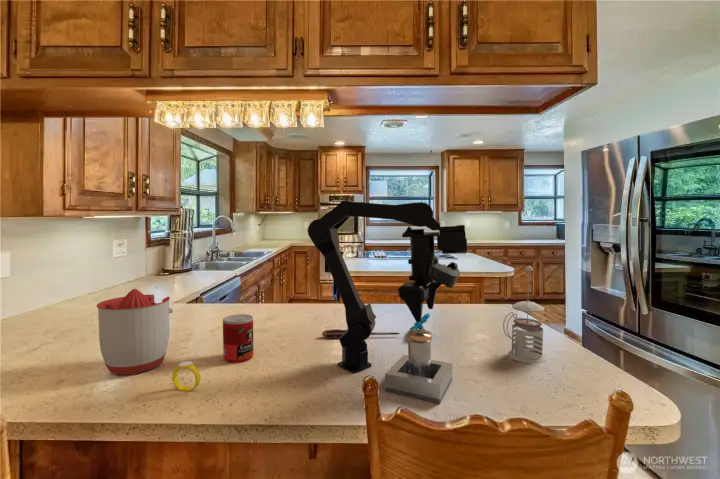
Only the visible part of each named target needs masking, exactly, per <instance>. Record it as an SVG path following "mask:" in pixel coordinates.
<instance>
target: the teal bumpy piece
mask: <svg viewBox="0 0 720 479" xmlns="http://www.w3.org/2000/svg"><path fill="white" fill-rule="evenodd" d="M430 317H431V314H430V313H429V312H427V313H425V314H424V315H422V318H421V322H416V321H415V323H413V326H411V327H410V328H409V330H408V331H410V330H426V329H425V327H424V325H423V324H424V323H427V321H428V319H429V318H430ZM406 336H407V333H406Z"/></svg>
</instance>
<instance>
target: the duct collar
mask: <svg viewBox="0 0 720 479" xmlns="http://www.w3.org/2000/svg"><path fill="white" fill-rule="evenodd" d="M384 376H385V378H384V385H385V386H384V389H385V390H384V392H385V393H386V392H387V393H391V394H395V395H399V396H404V397H407V398H411V399H416V400H421V401H425V402H428V403H429V402H430V403H434V404H437V405H440V404H441V402H442V401H443V399H444V397H445V395H446V393H447V391H448V390H449V387H450V385H451V383H452V381H453V362H452V363H451V362H446V361H440V360H434V359H431V379H430V378H425V377H420V376H416V375H411V374H408V354H402V356H401V357H400V358H399V359H398V360H397V361H396V362H395V363H394V364H393V365H392V366H391V367H390V368H389V369H388V370H387V371H386V372H385V373H384Z"/></svg>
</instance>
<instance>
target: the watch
mask: <svg viewBox="0 0 720 479" xmlns="http://www.w3.org/2000/svg"><path fill="white" fill-rule="evenodd" d="M193 362H194V361H190V360H189V361H187V360H186V361H183V362H180V363H179V364H178V366H177V367H176V368H175V369H174V370H173V372H172V374H171V375H172V383H173V386H174V387H175V388H176V389H177V391H184V392H192V391H194V390H195V389H196V388H197V387H198V386H200V382H201V372H200V370H199V369H198V368H197V367H196V366H195V365H194V363H193ZM186 369H187V370H188V369H189V370H190V371H192V373H193V375H194V377H195V378H194V379H195V383H194V385H193V387H192V386H184V385H182V383H180V380H179V378H178V374H179V371H180V370H186Z"/></svg>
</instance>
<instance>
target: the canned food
mask: <svg viewBox="0 0 720 479" xmlns="http://www.w3.org/2000/svg"><path fill="white" fill-rule="evenodd" d="M222 345H223V346H222V349H223V359H224V361H225V362H227V363H230V364H240V363H245V362H248V361H250V360H251V359H252V358H253V357H254V316H252V315H250V314H246V313H245V314H243V313H237V314H232V315H230V314H229V315H227V316H225V317H223V318H222Z"/></svg>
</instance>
